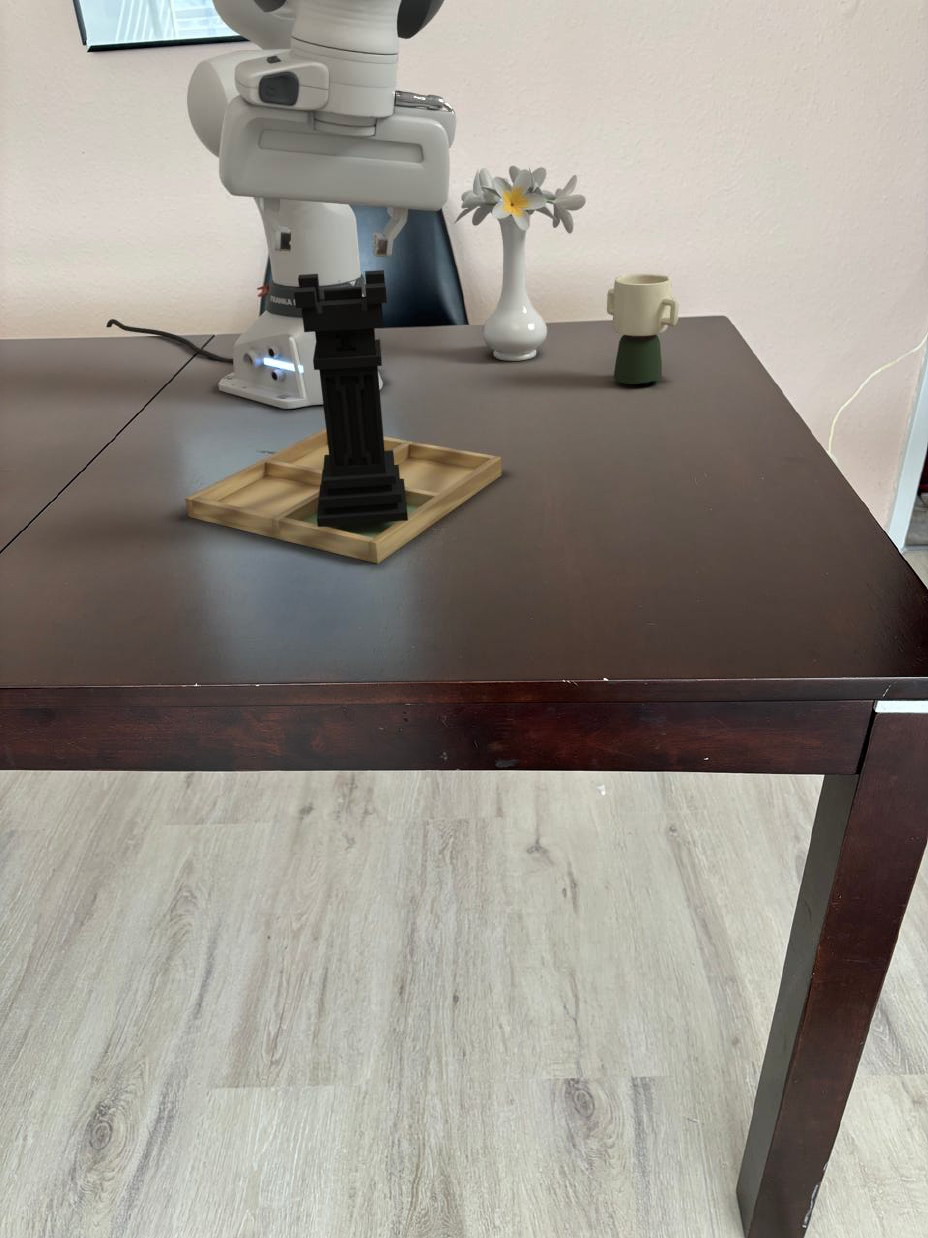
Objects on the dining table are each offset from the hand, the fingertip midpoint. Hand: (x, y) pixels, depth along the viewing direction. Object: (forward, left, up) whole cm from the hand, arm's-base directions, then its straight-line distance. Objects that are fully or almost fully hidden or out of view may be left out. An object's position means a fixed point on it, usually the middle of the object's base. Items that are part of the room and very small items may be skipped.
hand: (332, 252), depth 88 cm
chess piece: (+8, -9, -21) cm, 24 cm away
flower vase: (-7, +49, -23) cm, 54 cm away
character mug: (+14, +43, -23) cm, 51 cm away
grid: (+2, -4, -22) cm, 23 cm away
